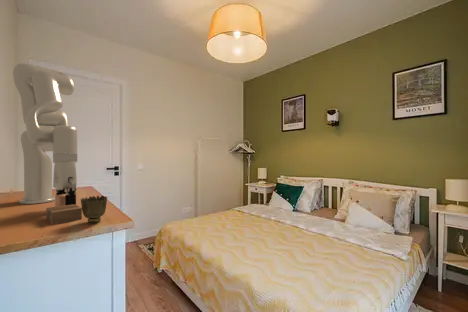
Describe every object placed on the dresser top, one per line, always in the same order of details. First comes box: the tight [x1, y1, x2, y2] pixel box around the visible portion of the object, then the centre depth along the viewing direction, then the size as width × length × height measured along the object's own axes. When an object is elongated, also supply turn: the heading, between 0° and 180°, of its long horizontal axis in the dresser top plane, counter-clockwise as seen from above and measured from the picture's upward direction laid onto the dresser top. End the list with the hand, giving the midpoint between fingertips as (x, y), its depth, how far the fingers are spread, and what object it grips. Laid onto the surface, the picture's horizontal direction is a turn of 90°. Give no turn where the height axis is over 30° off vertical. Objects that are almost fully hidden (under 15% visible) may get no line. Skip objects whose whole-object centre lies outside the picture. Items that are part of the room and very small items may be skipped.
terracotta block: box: [54, 194, 66, 207], centre depth 89 cm, size 5×5×6 cm
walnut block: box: [46, 204, 83, 225], centre depth 79 cm, size 8×8×4 cm
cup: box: [80, 195, 108, 224], centre depth 76 cm, size 8×7×8 cm
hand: (66, 203), depth 89 cm, fingers open, 9 cm apart
